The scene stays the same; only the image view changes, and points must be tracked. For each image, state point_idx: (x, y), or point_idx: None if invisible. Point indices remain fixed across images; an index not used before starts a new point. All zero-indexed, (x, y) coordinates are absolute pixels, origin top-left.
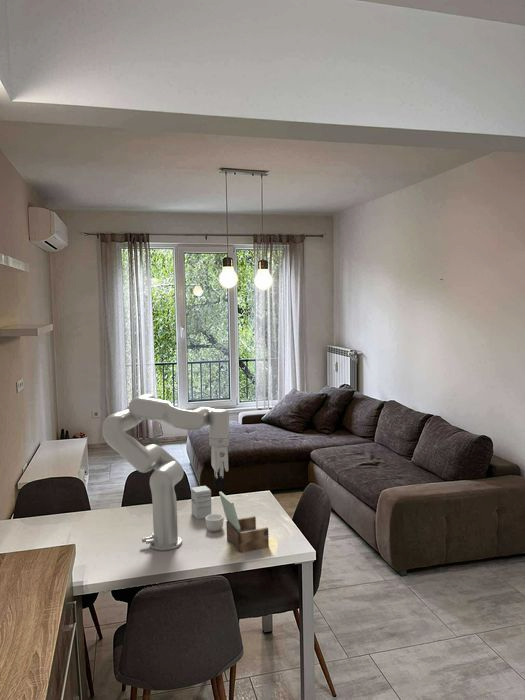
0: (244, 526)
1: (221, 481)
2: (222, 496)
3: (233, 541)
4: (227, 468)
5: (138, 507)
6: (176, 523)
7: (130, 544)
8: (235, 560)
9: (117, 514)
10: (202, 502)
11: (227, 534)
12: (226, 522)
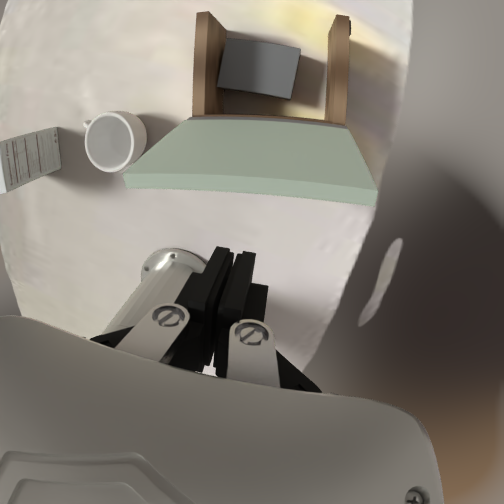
0: (214, 60)
1: (264, 312)
2: (190, 185)
3: None
4: (435, 467)
5: (9, 261)
6: (172, 299)
7: None
8: (373, 165)
9: (33, 300)
10: (28, 162)
11: None
12: None
